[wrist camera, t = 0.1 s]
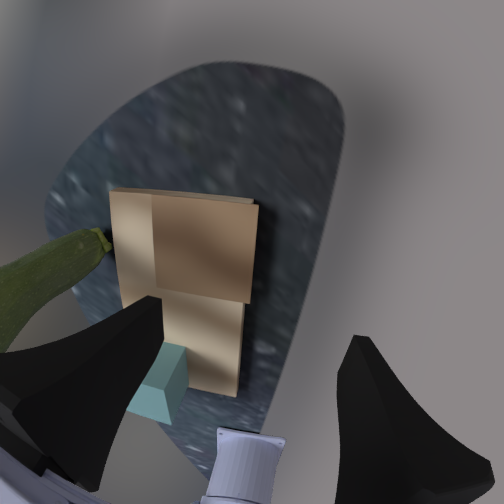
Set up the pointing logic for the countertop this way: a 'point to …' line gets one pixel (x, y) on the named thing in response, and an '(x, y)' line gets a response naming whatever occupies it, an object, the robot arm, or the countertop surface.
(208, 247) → the maple board
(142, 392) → the teal block
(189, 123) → the countertop surface
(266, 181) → the countertop surface
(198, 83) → the countertop surface
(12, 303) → the vegetable
